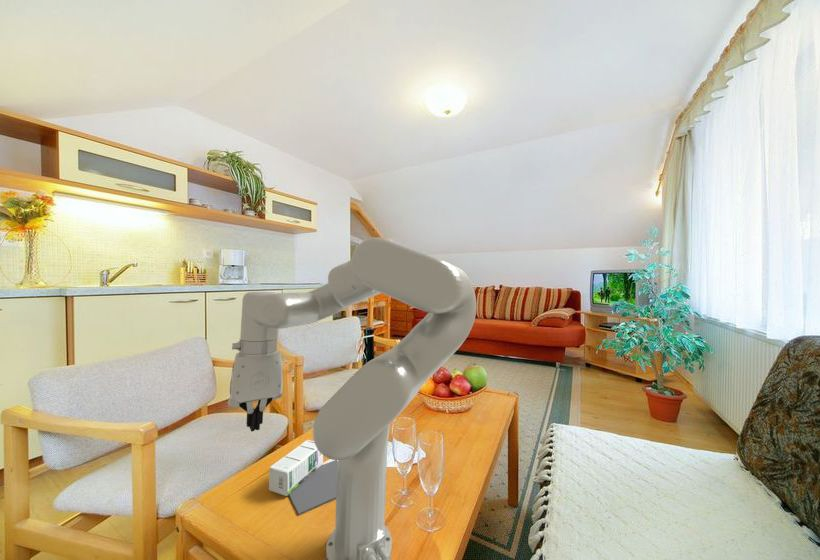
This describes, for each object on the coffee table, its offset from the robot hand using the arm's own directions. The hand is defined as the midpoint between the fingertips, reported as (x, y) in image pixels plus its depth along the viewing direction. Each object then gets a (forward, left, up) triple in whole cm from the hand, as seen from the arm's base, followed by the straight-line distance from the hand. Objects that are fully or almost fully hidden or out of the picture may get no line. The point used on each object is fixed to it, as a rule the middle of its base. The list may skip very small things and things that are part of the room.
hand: (254, 428), depth 66 cm
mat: (0, -16, -18) cm, 24 cm away
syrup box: (+2, -6, -15) cm, 16 cm away
